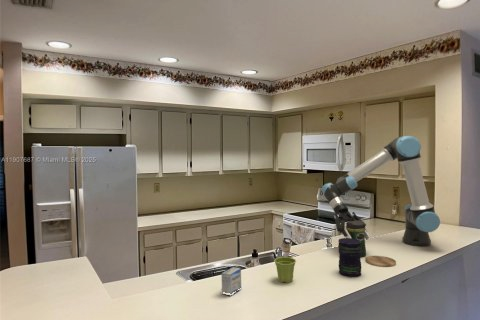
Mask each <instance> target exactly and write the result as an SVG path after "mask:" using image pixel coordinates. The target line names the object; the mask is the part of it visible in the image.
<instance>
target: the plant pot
mask: <svg viewBox="0 0 480 320" xmlns="http://www.w3.org/2000/svg"><path fill="white" fill-rule="evenodd" d="M273 262H274V264H275V266H276V272H277V278H278V279H277V280H278V281H279V282H280V281H281V282H280V283H291V282H293V279H294V271H295V265H296V263H297V260H296V258H294V257H287V256H280V257H276V258H275V259H274V260H273Z"/></svg>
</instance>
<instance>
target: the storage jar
mask: <svg viewBox="0 0 480 320" xmlns="http://www.w3.org/2000/svg"><path fill="white" fill-rule="evenodd" d="M337 248H338V258H339V259H338V269H339V270H338V274H339V275H340V276H343V277H346V278H359V277H361V276H362V262H361V261H362V260H361V258H362V257H360V254H361V241H360V240H358V239H353V238H346V237H342V238H339V239H338V247H337Z"/></svg>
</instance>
